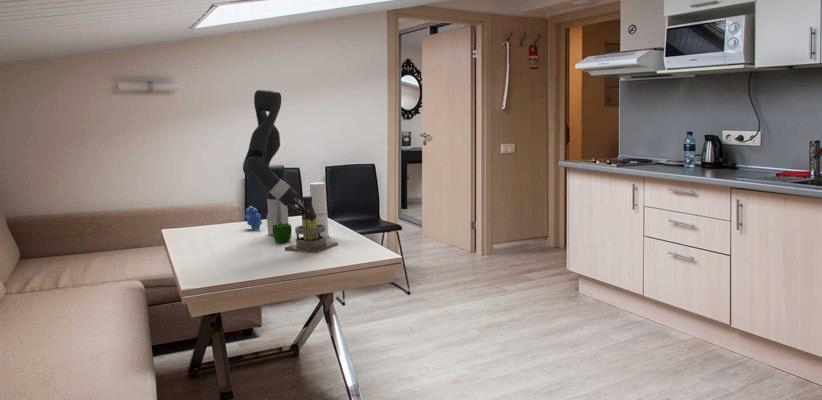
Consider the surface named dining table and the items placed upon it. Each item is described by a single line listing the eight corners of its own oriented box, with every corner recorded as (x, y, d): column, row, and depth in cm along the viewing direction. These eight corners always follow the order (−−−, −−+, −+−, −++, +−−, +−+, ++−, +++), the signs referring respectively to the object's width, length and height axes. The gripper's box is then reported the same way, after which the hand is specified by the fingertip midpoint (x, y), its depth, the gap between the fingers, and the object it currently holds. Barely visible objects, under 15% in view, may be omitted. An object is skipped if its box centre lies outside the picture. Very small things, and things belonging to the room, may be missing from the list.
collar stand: (284, 250, 269) (283, 229, 268) (308, 242, 283) (307, 222, 281) (315, 252, 261) (313, 231, 260) (337, 244, 275) (336, 224, 274)
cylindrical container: (330, 234, 298) (326, 182, 295) (326, 237, 291) (323, 183, 288) (315, 235, 299) (311, 182, 296) (311, 238, 292) (307, 184, 289)
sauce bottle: (321, 241, 273) (318, 195, 270) (314, 244, 267) (311, 197, 265) (307, 240, 275) (304, 195, 273) (300, 243, 270) (297, 197, 267)
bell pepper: (294, 241, 286) (293, 219, 284) (277, 244, 282) (275, 222, 280) (288, 239, 293) (286, 217, 291) (271, 241, 289) (269, 219, 287)
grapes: (240, 229, 322) (238, 206, 320) (251, 227, 327) (249, 204, 326) (254, 231, 315) (252, 208, 313) (265, 229, 320) (263, 206, 318)
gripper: (289, 187, 260) (319, 214, 263) (289, 183, 274) (318, 209, 277) (276, 201, 260) (307, 227, 263) (277, 196, 274) (307, 222, 277)
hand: (313, 218), depth 270 cm, fingers closed on sauce bottle, 6 cm apart
